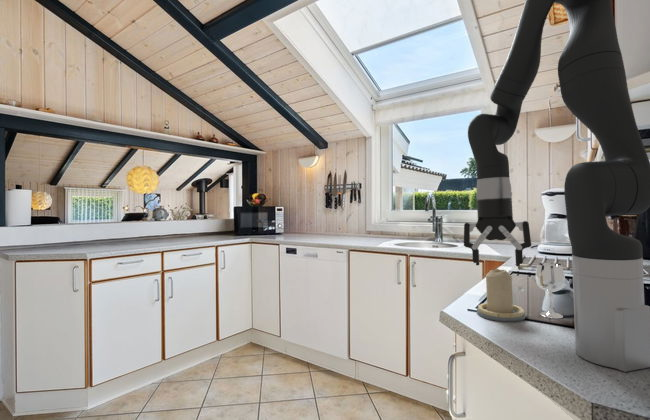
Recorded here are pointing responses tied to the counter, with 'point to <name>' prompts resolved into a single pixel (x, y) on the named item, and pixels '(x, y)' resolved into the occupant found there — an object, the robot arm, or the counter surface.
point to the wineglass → (550, 283)
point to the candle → (499, 291)
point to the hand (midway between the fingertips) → (497, 265)
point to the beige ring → (501, 314)
